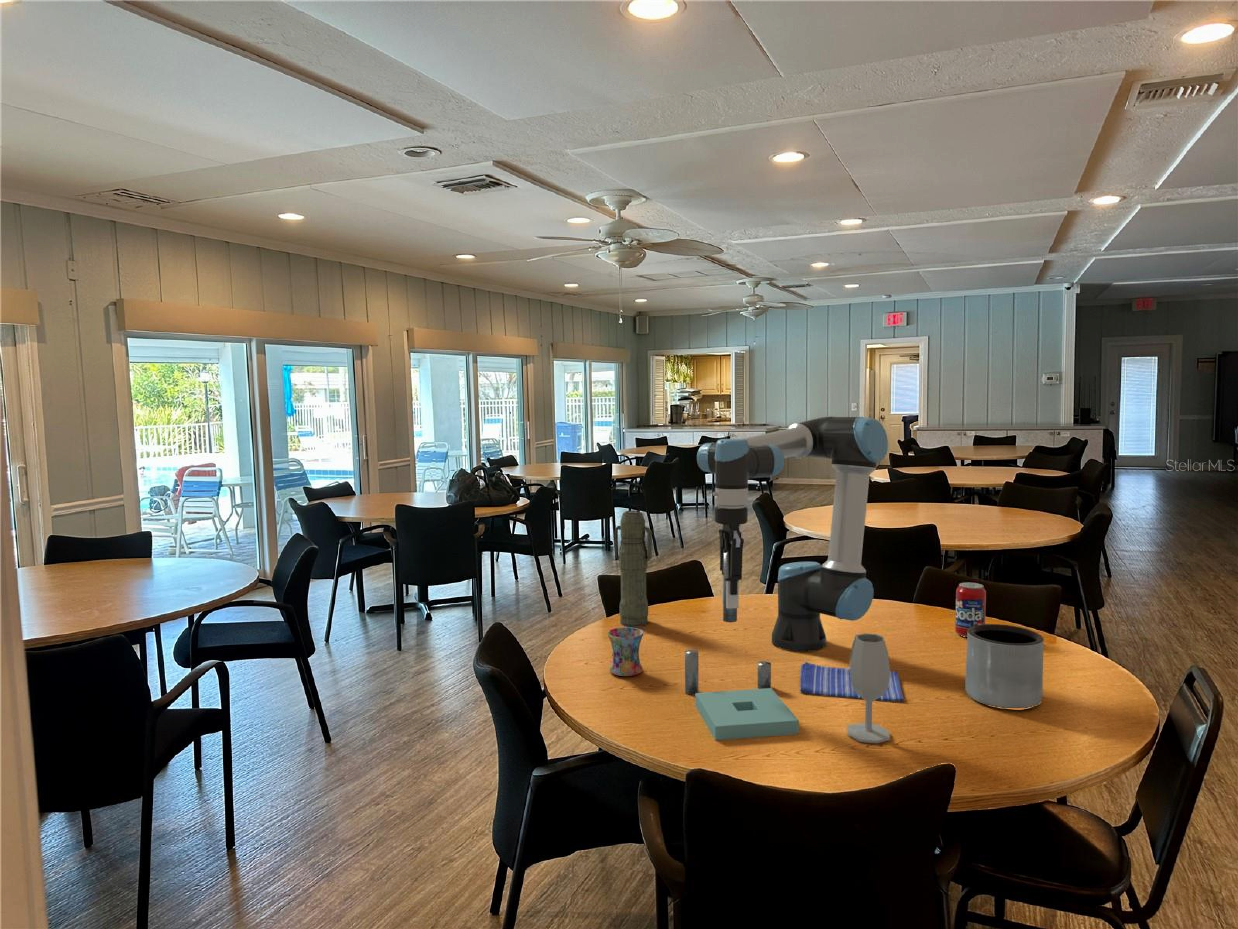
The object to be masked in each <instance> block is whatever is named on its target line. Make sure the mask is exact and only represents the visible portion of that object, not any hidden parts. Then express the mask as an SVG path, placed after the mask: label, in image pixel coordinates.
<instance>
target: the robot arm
mask: <svg viewBox="0 0 1238 929" xmlns="http://www.w3.org/2000/svg"><path fill="white" fill-rule="evenodd" d="M888 448H889V438H888V433H887V432H886V429H885V428H884V426H883V424H882V423H881V422H880V421H879V420H878V419H877V418H872V417H864V416H821V417H817V418H813V419H810V420H809V419H808V420H804V421H801V422H797V423H793V424H791V425H790V426H789V427H787V429H781V430H777V431H773V432H768V433H764V434H759V435H753V436H750V437H745V438H721V439H718V440H717V441H716V442H705V443H703V444H702V445H701V446H700V447H699V449H698V451H697V452H696V453H697V454H696V462H697V465H698V468H700V470H701V471H703V472H707V473H711V474H714V477H715V478H714V481H715V483H714V485H715V486H714V487H715V488H714V491H713V492H712V496H713V497H714V504H715V505H716V506H715V508H714V522H715V523H717V524H719V525H722V527H721V528H722V529H718V535H719V570H720V572H721V576H722V577H721V578H722V579H721V580H722V586H721V587H722V593H721V594H722V596H721V601H722V602H721V603H722V604H723V566H724V552H727V563H728V578H725V581H727V585H726V608H737V609H739V605H740V604H739V603H740V601H739V599H740V581H741V580H742V579H743V551H744V550H743V549H744V548H743V547H744V543H745V540H744V538H743V537H742V532H741V530H740V526H741V525H744V524H747V523H748V513H749V511H748V507H747V505H748V504H749V479H758V478H770V477H773V476H778V475H779V474H780V473H781V472H782V471H783V470H784V466H785V459H787V458H792V457H793V458H797V459H802V458H803V459H804V458H809V457H810V458H811V457H812V458H820V459H821V458H823V459H830V460H831V467H832V468H833V469H834V471H835V472H836V473H835V475H836V476H835V483H834V494H833V502H832V503H833V506H832V515H831V516H832V517H831V524H830V525H831V526H830V537H829V543H828V544H829V546H828V556H827V560H826V561H825V562H824V563H822V564H821V563H819V562H817V561H797V562H790V563H785V564H783V565H781V566H780V567H779V568H778V576H777V618H776V621H775V624H774V627H773V629H772V632H771V644H773V645H774V646H775V647H777V648H780V649H783V650H785V651H792V652H814V651H820V650H823V649H824V648H826V646H827V635H826V633H825V629H824V626H823V623H822V620H821V615H825V616H829V617H834V618H836V619H838V620H846V621H852V622H854V621H855V622H856V621H858V620H860V619H861V618H864V616H865V615H866V613H867V612H868V611H869V610H870V607H871V605H872V603H873V600H874V599H873V598H874V587H873V583H872V582H871V580H869V579H868V578H867V577H866V575H867V570H866V569H865V567H864V566H863V565H862V556H863V548H864V547H863V546H864V545H863V544H864V535H865V525H866V515H867V505H868V495H869V485H870V483H869V482H870V476H871V474H872V473H873V472H875V471H876V470H877V465H878V464H877V463H879V462H882V461H883V460H884V459H885V457H886V456H887V453H888Z"/></svg>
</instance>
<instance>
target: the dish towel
mask: <svg viewBox="0 0 1238 929" xmlns="http://www.w3.org/2000/svg"><path fill="white" fill-rule="evenodd" d="M799 687H800V689H799V691H800V693H801V694H806V695H807V694H808V695H809V694H810V695H813V696H815V695H816V696H821V695H822V696H823V697H831V696H832V697H834V698H845V699H855V698H856V700H864V699H863V698H862V697H860V696H859V695H858V694H857V693H856V692H855V691H854V690H853V686H852V682H851V677H850V668H845V667H834V666H833V667H831V666H827V665H825V666H822V665H818V664H816V663H810V662H807V661H805V662H804V663H802V664H801V668H800V686H799ZM875 701H878V702H893V703H895V702H899V703H900V702H905V698H904V696H903V692H902V686H901V682H900V678H899V674H898V671H897V670H892V671H891V670H890V681H889V685H888V688H887V691H886V694H884V695H882V696H881V697H879V698H878V699H876V700H875Z"/></svg>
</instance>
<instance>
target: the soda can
mask: <svg viewBox="0 0 1238 929" xmlns="http://www.w3.org/2000/svg"><path fill="white" fill-rule="evenodd" d="M986 605H987V590H985V587H984V585H983V584H980V583H977V582H966V581H965V582H961V583H959V584H958V587H957V588H956V590H955V621H954V622H955V625H954V626H955V627H954V630H955V633H956V634H957V635H959V636H960V635H962V636H965V637H967V633H968V629H969V628H970V627H973V626H976V625H982V624H986ZM962 636H961V637H962ZM965 637H964V638H965Z"/></svg>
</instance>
